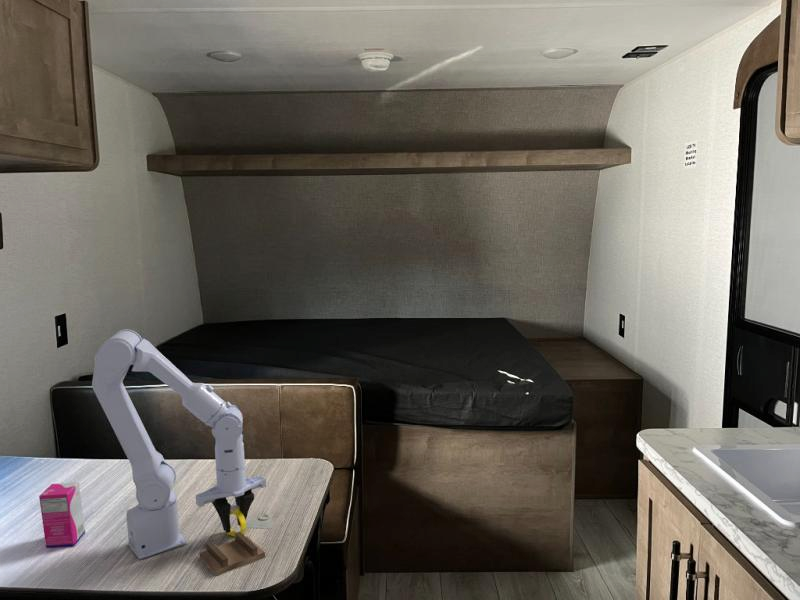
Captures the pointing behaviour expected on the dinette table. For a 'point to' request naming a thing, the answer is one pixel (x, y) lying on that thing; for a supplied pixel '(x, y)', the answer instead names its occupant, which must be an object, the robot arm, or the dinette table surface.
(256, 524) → the mounting bracket
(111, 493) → the dinette table surface
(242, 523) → the watch
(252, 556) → the rack
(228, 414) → the robot arm
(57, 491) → the supplement box
